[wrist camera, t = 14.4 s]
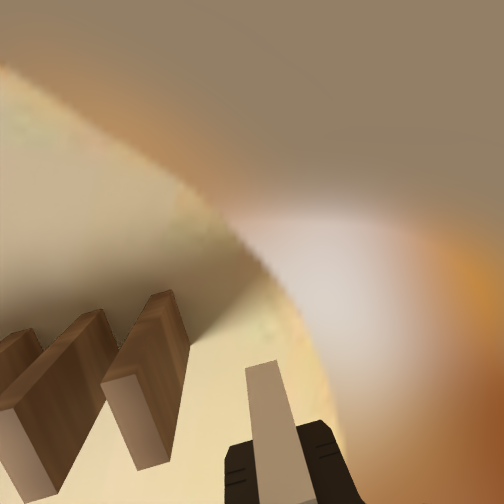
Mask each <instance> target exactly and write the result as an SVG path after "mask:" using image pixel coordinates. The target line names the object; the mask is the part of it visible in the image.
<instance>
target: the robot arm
mask: <svg viewBox="0 0 504 504" xmlns="http://www.w3.org/2000/svg"><path fill="white" fill-rule="evenodd" d="M245 372H246V381H247V391H248V400H249V409H250V418H251V427H252V436H253V440H250V441H247V442H243V443H240V444H236V445H233V446H230V447H229V450H228V452H227V455H226V457H225V504H365V503H364V501H363V500H362V499H361V498H360V496H359V494H358V492H357V489H356V487H355V485H354V482H353V480H352V478H351V475H350V473H349V470H348V468H347V466H346V463H345V461H344V459H343V456H342V454H341V452H340V449H339V447H338V444H337V443H336V440H335V437H334V435H333V433H332V430H331V428H330V427H328V426H327V425H326V424H325V423H324V422H323V421H322V420H318V421H314V422H311V423H307V424H303V425H300V426H295V423H294V419H293V416H292V412H291V409H290V405H289V402H288V398H287V395H286V391H285V388H284V384H283V381H282V377H281V374H280V370H279V367H278V363H277V360H274V361H270V362H267V363H263V364H259V365H256V366H252V367H249V368H245Z"/></svg>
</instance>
